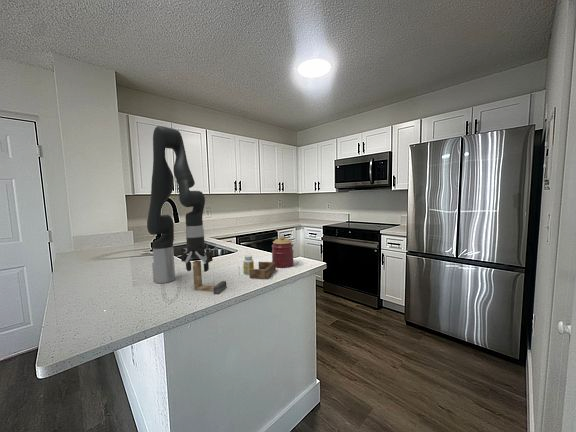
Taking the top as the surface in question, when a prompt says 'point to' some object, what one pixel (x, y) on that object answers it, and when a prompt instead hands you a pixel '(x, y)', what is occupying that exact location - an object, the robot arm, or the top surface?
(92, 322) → the top surface
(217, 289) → the wooden l-shaped bracket
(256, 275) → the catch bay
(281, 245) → the canister
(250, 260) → the supplement bottle
